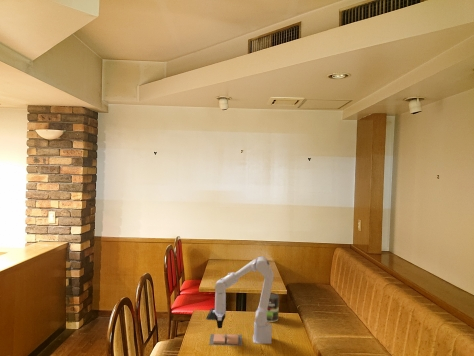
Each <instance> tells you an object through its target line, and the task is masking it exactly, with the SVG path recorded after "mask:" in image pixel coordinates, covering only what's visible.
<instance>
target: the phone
mask: <svg viewBox="0 0 474 356" xmlns="http://www.w3.org/2000/svg"><path fill="white" fill-rule="evenodd" d="M213 310H215V308H210V309H209V312H208V314H207V316H206V317H205V319H206V320H209V321H216V319H215V313H213Z"/></svg>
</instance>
